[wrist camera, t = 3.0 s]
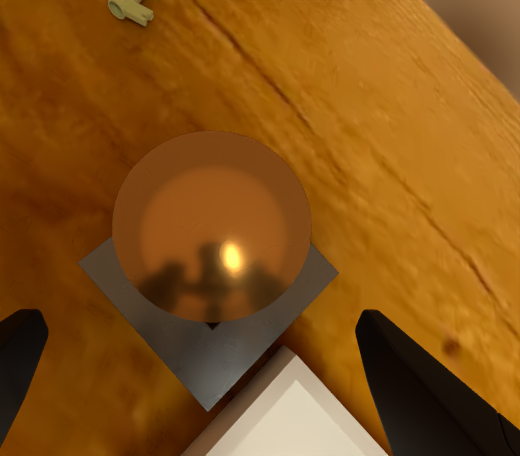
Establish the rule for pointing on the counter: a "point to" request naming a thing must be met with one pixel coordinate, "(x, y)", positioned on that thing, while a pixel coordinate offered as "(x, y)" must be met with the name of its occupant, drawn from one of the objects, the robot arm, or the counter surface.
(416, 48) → the counter surface
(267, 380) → the parts tray
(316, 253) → the grey flat square frame
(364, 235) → the counter surface
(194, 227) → the pin
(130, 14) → the key
